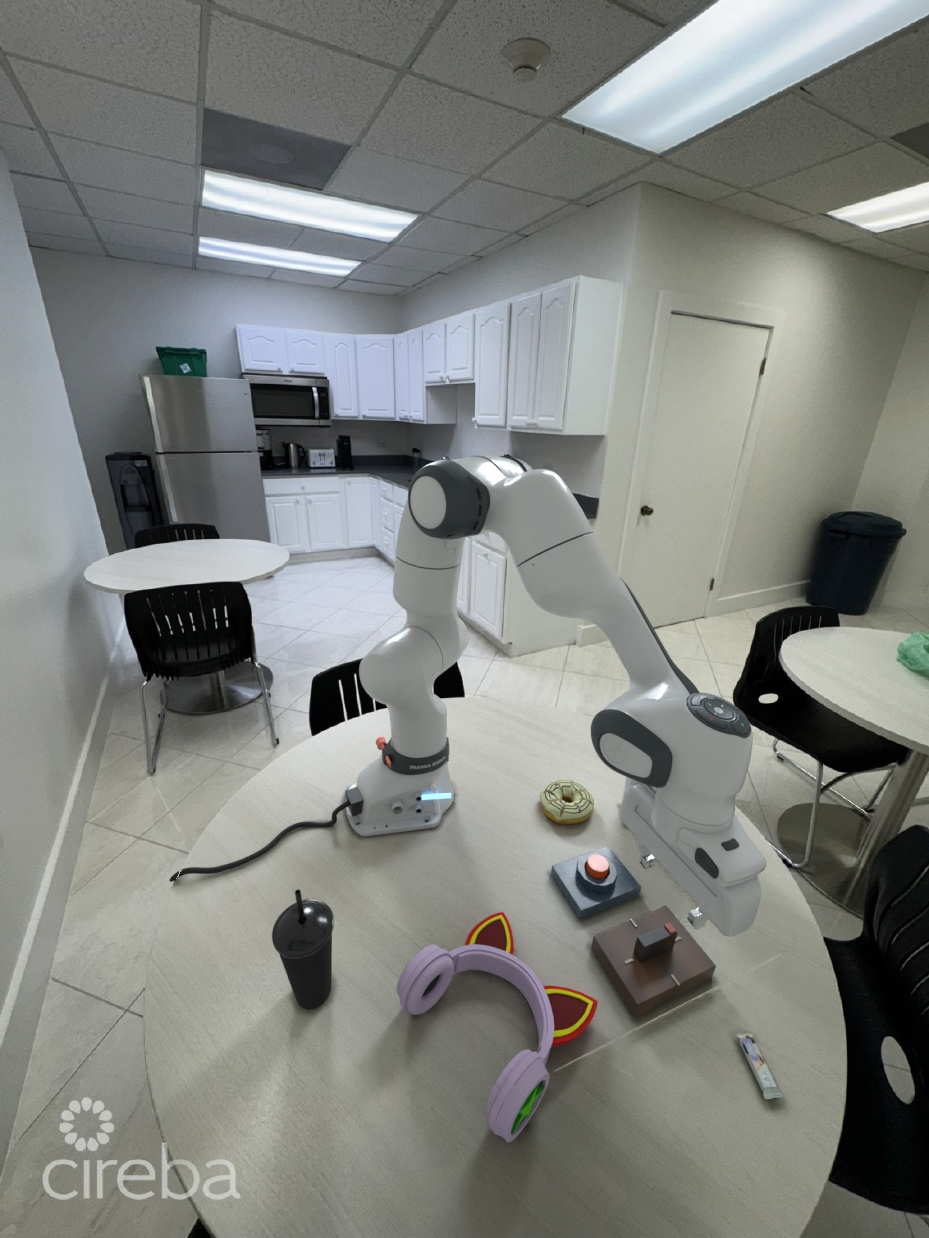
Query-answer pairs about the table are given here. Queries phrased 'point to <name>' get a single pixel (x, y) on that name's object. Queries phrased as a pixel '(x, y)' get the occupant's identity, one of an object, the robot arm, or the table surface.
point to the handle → (655, 942)
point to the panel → (651, 962)
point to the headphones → (552, 1006)
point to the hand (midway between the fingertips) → (669, 892)
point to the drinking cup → (306, 949)
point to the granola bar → (759, 1066)
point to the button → (597, 866)
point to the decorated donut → (561, 810)
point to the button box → (594, 884)
